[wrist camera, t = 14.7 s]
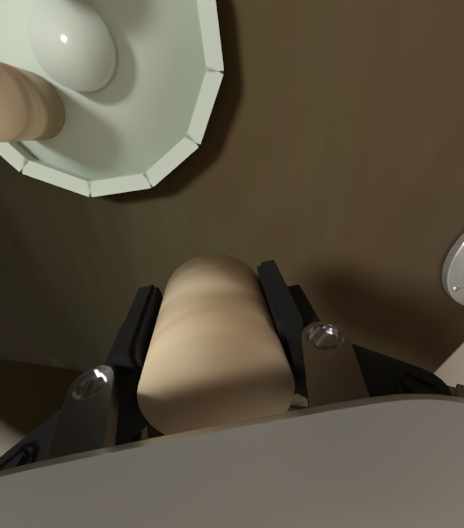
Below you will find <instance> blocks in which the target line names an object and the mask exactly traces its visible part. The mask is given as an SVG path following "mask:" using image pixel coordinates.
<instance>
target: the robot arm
mask: <svg viewBox="0 0 464 528" xmlns="http://www.w3.org/2000/svg"><path fill="white" fill-rule="evenodd" d="M257 269H258V275H259V281H260V284H261V287H262V290H263V293H264V296H265V299H266V302H267V305H268V308H269V311H270V313H271V316H272V319H273V322H274V325H275V328H276V331H277V334H278V337H279V340H280V343H281V344H282V346H283V349H284V351H285V354H286V357H287V360H288V363H289V366H290V369H291V372H292V375H293V378H294V384H295V390H294V394H297V393H298V394H299V395H301V396H303V397H305V398H307V401H308V408H306V409H301V410H296V411H290V412H285V413H280V414H275V415H269V416H264V417H259V418H254V419H248V420H243V421H238V422H233V423H228V424H222V425H217V426H212V427H207V428H202V429H197V430H192V431H187V432H182V433H177V434H171V435H166V436H162V437H156V438H151V439H147V429H146V426H147V425H148V424H149V422H148V421H147V420H146V419H145V417H144V416H143V414H142V412H141V410H140V408H139V405H138V401H137V390H138V385H139V381H140V378H141V374H142V370H143V367H144V363H145V360H146V356H147V353H148V349H149V346H150V342H151V339H152V335H153V332H154V328H155V325H156V321H157V317H158V314H159V310H160V307H161V303H162V300H163V297H162V294H161V291H160V289H159V288H158V287H157V288H155V287H154V286H153V285H151V286H146V287H141V288H139V290H138V292H137V295H136V297H135V299H134V302H133V304H132V306H131V308H130V311H129V313H128V315H127V317H126V320H125V321H124V322H123V324H122V326H121V328H120V331H119V333H118V335H117V337H116V340H115V342H114V344H113V346H112V349H111V351H110V353H109V355H108V358H107V360H106V362H105V364H104V365H101V366H97V367H94V368H92V369H89V370H87V371H86V372H84V373H83V374H82V375H80V376H79V377H78V378H77V379H76V380H75V381H74V382H73V384H72V385H71V386H70V388H69V391H68V393H67V396H66V399H65V403H64V406H63V408H62V409H61V410H60V411H59V412H57V413H56V414H55V415H53V416H52V417H51V418H49V419H48V420H47V421H46V422H44V423H43V424H42V425H40V426H39V427H38V428H37V429H35V430H34V431H33V432H32V433H30V434H29V435H28V436H26V437H25V438H24V439H22V440H21V441H20V442H19V443H17V444H16V445H15V446H13V447H12V448H11V449H10V450H8V451H7V452H6V453H5V454H4V455H3V456H1V457H0V528H464V385H460V384H457V385H456V388H455V387H451V386H447V385H446V384H445V383H444V382H443V381H442V380H441V379H440V378H439V377H437V376H436V375H434V374H433V373H431V372H429V371H426V370H424V369H422V368H419V367H416V366H413V365H411V364H408V363H405V362H402V361H399V360H396V359H394V358H391V357H388V356H385V355H382V354H380V353H377V352H374V351H371V350H368V349H366V348H363V347H360V346H357V345H354V344H352V343H351V340H350V337H349V335H348V333H347V331H346V330H345V329H344V328H343V327H342V326H340V325H338V324H336V323H333V322H329V321H320V320H319V318H318V317H317V315H316V313H315V311H314V310H313V308H312V306H311V304H310V303H309V301H308V299H307V297H306V296H305V294H304V292H303V290H302V289H301V287H300V286H299V285H294V286H289V287H287V286H286V284H285V282H284V280H283V277H282V275H281V273H280V271H279V269H278V267H277V265H276V263H275V261H274V260H270V261H266V262H261V266H257ZM441 277H442V285H443V288H444V290H445V292H446V293H447V294H448V296H450V297H451V298H452V299H454V300H455V301H456V302H458V303H460V304H462V305H464V233H463V234H462V235H461V236H460V237H459V238H458V240H457V241H456V242H455V244H454V245H453V246H452V248H451V249H450V251H449V253H448V255H447V257H446V259H445V262H444V265H443V269H442V275H441Z"/></svg>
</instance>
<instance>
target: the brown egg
mask: <svg viewBox="0 0 464 528" xmlns="http://www.w3.org/2000/svg"><path fill="white" fill-rule="evenodd" d="M294 390H295V384H294V378H293V375H292V372H291V369H290V366H289V363H288V360H287V357H286V354H285V351H284V349H283V346H282V344H281V343H280V340H279V337H278V334H277V331H276V328H275V325H274V322H273V319H272V316H271V313H270V311H269V308H268V305H267V302H266V299H265V296H264V293H263V290H262V287H261V284H260V281H259V277H258V276H257V274H256V273H255V272H254V270H253V269H252V268H251V267H250V266H248V265H247V264H246V263H244V262H243V261H241V260H239V259H237V258H234V257H231V256H227V255H222V254H208V255H202V256H199V257H195V258H193V259H191V260H189V261H187V262H185V263H184V264H182V265H181V266H180V267H178V268H177V269H176V270H175V272H174V273H173V274H172V276H171V277H170V279H169V281H168V283H167V286H166V289H165V293H164V296H163V300H162V303H161V307H160V310H159V314H158V317H157V321H156V325H155V328H154V332H153V335H152V339H151V342H150V346H149V349H148V353H147V356H146V360H145V363H144V367H143V370H142V374H141V378H140V381H139V385H138V390H137V401H138V405H139V408H140V410H141V412H142V414H143V416H144V417H145V419H146V420H147V421H148V422H149V423H150V424H151V425H152V426H153V427H154V428H156V429H157V430H158V431H160V432H162V433H163V434H165V435H171V434H177V433H182V432H187V431H192V430H197V429H202V428H207V427H212V426H217V425H222V424H228V423H233V422H238V421H243V420H248V419H254V418H259V417H264V416H269V415H275V414H280V413H285V412H286V411H287V410H288V408H289V406H290V404H291V402H292V400H293V396H294Z"/></svg>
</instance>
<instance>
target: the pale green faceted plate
mask: <svg viewBox="0 0 464 528" xmlns="http://www.w3.org/2000/svg"><path fill="white" fill-rule="evenodd" d="M0 62H3V63H6V64H9V65H12V66H15V67H18V68H21V69H24V70H27V71H30V72H33V73H36V74H38V75H40V76H41V77H43V78H44V79H45V80H47V81H48V82H49V83H50V84H51V85H52V86H53V87H54V88H55V90H56V91H57V93H58V94H59V96H60V98H61V100H62V102H63V105H64V110H65V122H64V126H63V128H62V130H61V131H60V133H59V134H58V135H56V136H55V137H53V138H51V139H47V140H33V141H17V142H1V143H0V155H1V156H2V157H3V158H4V159H5V160H6V161H8V162H9V163H10V164H11V165H12V166H13V167H14V168H16V169H17V170H18V171H19V172H21V171H23V173H22V174H25V175H28V176H30V177H33V178H36V179H39V180H42V181H45V182H48V183H51V184H53V185H56V186H59V187H62V188H65V189H68V190H71V191H73V192H76V193H79V194H82V195H85V196H88V197H89V196H92V197H96V196H103V195H110V194H116V193H123V192H130V191H136V190H143V189H149V188H152V187H154V186H155V185H156V184H158V183H159V182H160V181H161V180H162V179H163V178H164V177H166V176H167V175H168V174H169V173H170V172H171V171H172V170H173V169H175V168H176V167H177V166H178V165H179V164H180V163H181V162H183V161H184V160H185V159H186V158H187V157H188V156H189V155H191V154H192V153H193V152H194V151H195V150H196V149H197V148H199V146H198V144H200V145H201V142H202V139H203V136H204V133H205V130H206V127H207V124H208V121H209V118H210V114H211V112H212V108H213V105H214V102H215V99H216V96H217V93H218V90H219V87H220V84H221V81H222V78H223V75H224V74H222V73H223V72H224V66H223V58H222V49H221V41H220V33H219V24H218V16H217V7H216V0H0ZM197 143H198V144H197Z"/></svg>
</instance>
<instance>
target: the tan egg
mask: <svg viewBox="0 0 464 528" xmlns="http://www.w3.org/2000/svg"><path fill="white" fill-rule="evenodd" d="M64 122H65V110H64V105H63V102H62V100H61V98H60V96H59V94H58V93H57V91H56V90H55V88H54V87H53V86H52V85H51V84H50V83H49V82H48V81H47V80H45V79H44V78H43V77H41V76H40V75H38V74H36V73H33V72H30V71H27V70H24V69H21V68H18V67H15V66H12V65H9V64H6V63H3V62H0V143H1V142H17V141H33V140H47V139H51V138H53V137H55V136H56V135H58V134H59V133H60V131H61V130H62V128H63V126H64Z"/></svg>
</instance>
